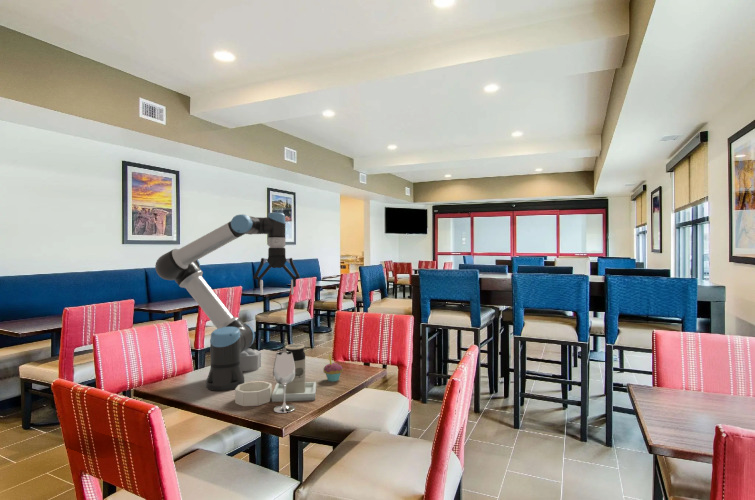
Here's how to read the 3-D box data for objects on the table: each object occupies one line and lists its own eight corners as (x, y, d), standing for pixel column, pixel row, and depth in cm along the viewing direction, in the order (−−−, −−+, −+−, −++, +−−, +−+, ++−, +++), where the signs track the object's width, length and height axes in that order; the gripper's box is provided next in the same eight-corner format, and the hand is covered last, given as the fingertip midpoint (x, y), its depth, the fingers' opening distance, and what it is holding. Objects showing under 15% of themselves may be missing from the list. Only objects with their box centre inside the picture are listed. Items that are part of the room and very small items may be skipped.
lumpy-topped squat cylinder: (256, 371, 195) (256, 352, 195) (228, 371, 194) (228, 353, 194) (262, 365, 205) (262, 347, 205) (235, 365, 205) (235, 347, 205)
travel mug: (283, 390, 165) (283, 344, 165) (303, 387, 168) (303, 343, 168) (286, 396, 158) (286, 349, 158) (307, 394, 160) (307, 347, 160)
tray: (271, 401, 155) (271, 395, 155) (276, 389, 169) (276, 383, 169) (314, 400, 157) (314, 393, 157) (316, 387, 171) (316, 381, 171)
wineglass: (287, 414, 143) (287, 356, 143) (268, 411, 146) (268, 354, 146) (299, 406, 150) (299, 351, 150) (281, 403, 153) (281, 349, 153)
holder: (232, 406, 150) (232, 392, 150) (240, 394, 163) (240, 381, 163) (268, 405, 152) (268, 391, 152) (273, 393, 164) (273, 380, 164)
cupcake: (330, 384, 175) (330, 355, 175) (319, 379, 182) (319, 352, 182) (346, 380, 181) (346, 352, 181) (335, 375, 187) (335, 349, 187)
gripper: (246, 247, 182) (246, 295, 181) (304, 247, 184) (304, 294, 184) (249, 247, 189) (250, 294, 189) (305, 247, 192) (305, 293, 192)
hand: (277, 294), depth 187 cm, fingers open, 13 cm apart
